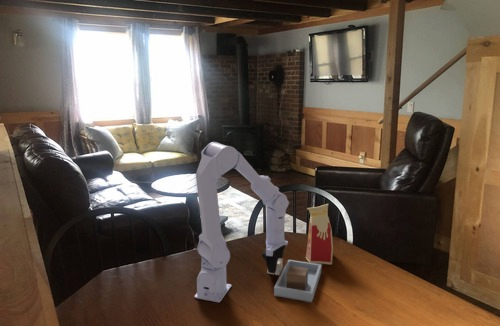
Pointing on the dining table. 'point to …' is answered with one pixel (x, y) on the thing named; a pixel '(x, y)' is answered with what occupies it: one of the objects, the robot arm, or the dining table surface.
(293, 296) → the tote
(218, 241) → the robot arm
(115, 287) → the dining table surface
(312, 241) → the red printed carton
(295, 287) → the walnut block
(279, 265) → the cream box
